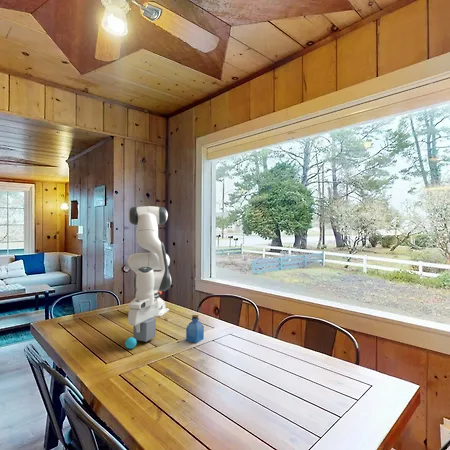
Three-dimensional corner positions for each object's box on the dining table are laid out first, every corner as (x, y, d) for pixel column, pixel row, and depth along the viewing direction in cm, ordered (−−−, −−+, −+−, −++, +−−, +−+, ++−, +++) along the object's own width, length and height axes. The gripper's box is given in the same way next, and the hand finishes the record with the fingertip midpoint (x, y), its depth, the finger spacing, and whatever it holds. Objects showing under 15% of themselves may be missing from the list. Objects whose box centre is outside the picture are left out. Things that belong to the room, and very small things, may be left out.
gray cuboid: (142, 334, 153) (143, 316, 153) (155, 336, 150) (155, 318, 151) (133, 339, 146) (133, 320, 146) (146, 341, 143) (146, 322, 144)
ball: (121, 341, 137) (124, 350, 139) (130, 343, 135) (133, 352, 137) (128, 334, 142) (131, 342, 143) (137, 335, 140) (139, 344, 141)
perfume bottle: (186, 340, 150) (186, 316, 150) (193, 336, 155) (193, 313, 155) (196, 343, 147) (197, 318, 147) (203, 339, 152) (203, 315, 152)
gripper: (151, 295, 159) (151, 322, 159) (126, 305, 140) (125, 335, 140) (162, 296, 157) (161, 323, 157) (137, 306, 138) (136, 337, 138)
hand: (144, 329), depth 148 cm, fingers closed on gray cuboid, 8 cm apart
